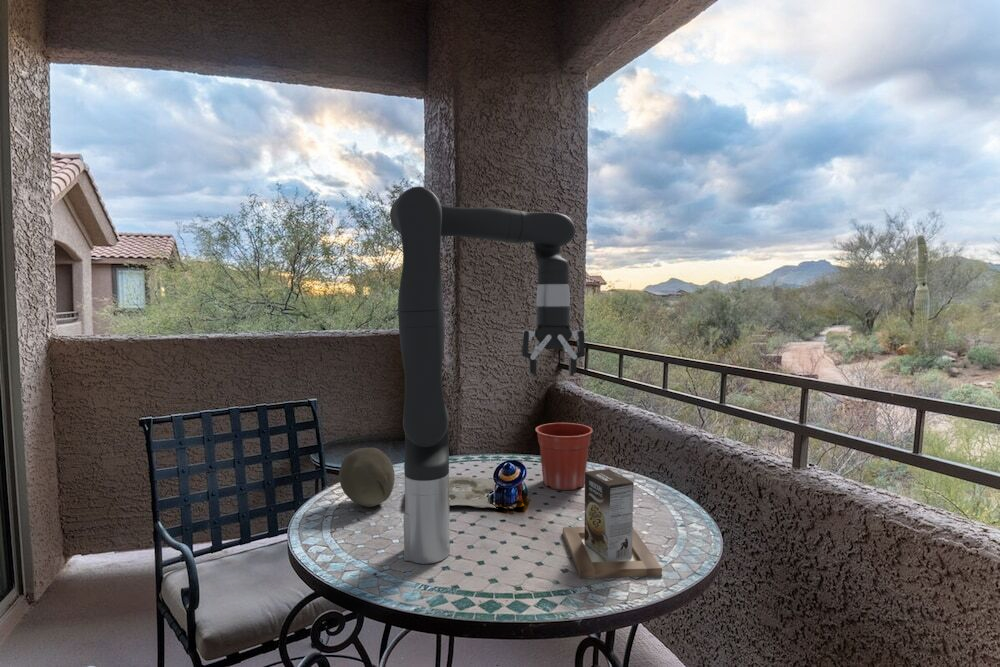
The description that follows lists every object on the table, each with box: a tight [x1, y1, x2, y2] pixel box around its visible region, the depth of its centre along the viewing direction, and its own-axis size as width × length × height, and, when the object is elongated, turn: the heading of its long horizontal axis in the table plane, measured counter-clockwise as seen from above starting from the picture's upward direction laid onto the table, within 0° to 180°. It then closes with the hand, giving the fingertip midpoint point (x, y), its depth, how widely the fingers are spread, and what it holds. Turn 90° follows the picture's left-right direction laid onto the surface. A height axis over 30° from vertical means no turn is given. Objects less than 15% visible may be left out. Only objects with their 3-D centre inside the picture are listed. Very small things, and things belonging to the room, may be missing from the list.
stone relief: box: [449, 476, 497, 509], centre depth 141 cm, size 32×3×20 cm
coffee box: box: [584, 468, 635, 562], centre depth 108 cm, size 9×6×16 cm
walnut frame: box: [562, 526, 663, 579], centre depth 109 cm, size 16×19×2 cm
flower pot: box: [535, 422, 593, 491], centre depth 150 cm, size 16×16×16 cm
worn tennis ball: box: [338, 447, 396, 508], centre depth 134 cm, size 14×14×15 cm
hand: (552, 375), depth 118 cm, fingers open, 8 cm apart
